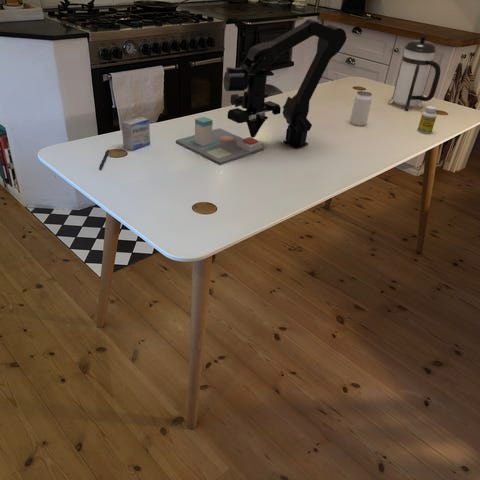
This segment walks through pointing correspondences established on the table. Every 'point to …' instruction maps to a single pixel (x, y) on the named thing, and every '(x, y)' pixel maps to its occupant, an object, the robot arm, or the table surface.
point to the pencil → (104, 159)
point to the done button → (249, 140)
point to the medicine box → (136, 133)
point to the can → (361, 108)
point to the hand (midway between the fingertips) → (252, 137)
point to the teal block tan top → (203, 131)
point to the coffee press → (415, 74)
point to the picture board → (222, 147)
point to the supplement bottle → (427, 120)
